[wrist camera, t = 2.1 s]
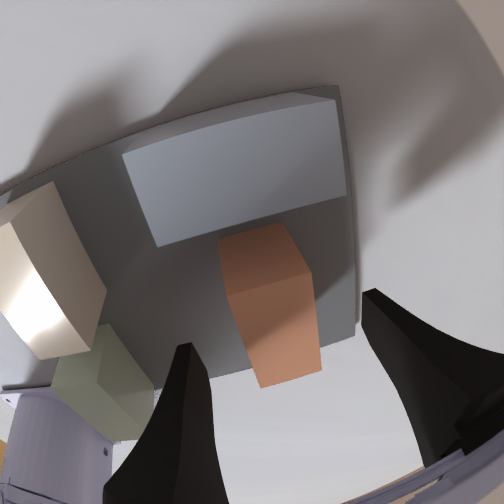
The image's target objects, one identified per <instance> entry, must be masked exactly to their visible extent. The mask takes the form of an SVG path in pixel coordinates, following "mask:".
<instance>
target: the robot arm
mask: <svg viewBox="0 0 504 504" xmlns="http://www.w3.org/2000/svg"><path fill="white" fill-rule="evenodd" d="M361 326H362V328H363V331H364V333H365V335H366V337H367V339H368V342H369V344H370V346H371V347H372V349H373V351H374V352H375V354H376V356H377V357H378V359H379V361H380V362H381V364H382V366H383V367H384V369H385V370H386V372H387V374H388V375H389V377H390V379H391V380H392V382H393V384H394V386H395V388H396V389H397V391H398V394H399V396H400V398H401V400H402V403H403V405H404V407H405V410H406V412H407V415H408V418H409V420H410V423H411V425H412V428H413V431H414V434H415V437H416V440H417V443H418V446H419V450H420V453H421V457H422V461H423V465H424V466H425V469H423V470H421V471H420V472H417V473H416V474H413V475H412V476H409V477H407V478H405V479H403V480H401V481H399V482H397V483H395V484H392V485H390V486H388V487H385V488H383V489H381V490H378V491H376V492H373V493H371V494H368V495H366V496H363V497H360V498H358V499H355V500H352V501H349V502H347V503H344V504H388V503H390V502H392V501H394V500H397V499H399V498H401V497H403V496H405V495H408V494H410V493H412V492H414V491H416V490H418V489H420V488H422V487H424V486H426V485H427V484H429V483H431V482H433V481H435V480H437V479H438V478H439V479H438V481H437V482H436V483H435V484H433V485H431V486H430V487H428V488H426V489H425V490H423V491H421V492H419V493H418V494H416V495H415V496H414V497H413V498H411V499H410V500H408V501H407V502H405V504H476V503H478V502H479V501H480V500H482V499H483V498H484V497H486V496H487V495H488V494H490V493H491V492H492V491H493V490H495V489H496V488H497V487H499V486H500V485H501V484H502V483H503V482H504V354H501V353H497V352H493V351H489V350H486V349H482V348H479V347H476V346H473V345H471V344H468V343H466V342H463V341H461V340H458V339H456V338H454V337H452V336H450V335H448V334H446V333H444V332H441V331H440V330H438V329H436V328H434V327H432V326H431V325H429V324H427V323H426V322H424V321H422V320H421V319H419V318H418V317H416V316H415V315H413V314H412V313H410V312H409V311H407V310H406V309H404V308H403V307H401V306H400V305H398V304H397V303H396V302H394V301H393V300H391V299H390V298H389V297H387V296H386V295H384V294H383V293H382V292H380V291H379V290H377V289H376V288H374V289H371V290H368V291H365V292H362V320H361ZM50 387H51V386H50ZM50 387H40V388H30V389H19V390H6V391H1V392H0V396H1V397H2V398H3V399H4V400H5V401H6V402H7V403H8V404H9V405H10V406H11V407H12V408H14V409H15V413H14V417H13V421H12V425H11V429H10V433H9V437H8V442H7V446H6V451H5V456H4V461H3V466H2V472H1V478H0V504H229V502H228V498H227V494H226V491H225V487H224V483H223V479H222V475H221V470H220V466H219V461H218V456H217V451H216V446H215V438H214V424H213V409H212V394H211V387H210V382H209V376H208V371H207V369H206V367H205V365H204V364H203V362H202V360H201V358H200V356H199V354H198V353H197V351H196V349H195V347H194V345H193V343H192V342H189V343H185V344H181V345H178V346H177V347H176V350H175V354H174V357H173V360H172V364H171V367H170V370H169V373H168V376H167V379H166V381H165V384H164V387H163V390H162V392H161V395H160V397H159V400H158V402H157V405H156V407H155V409H154V411H153V414H152V416H151V418H150V420H149V422H148V424H147V426H146V428H145V429H144V431H143V433H142V435H141V436H140V438H139V440H138V442H137V443H136V445H135V446H134V448H133V449H132V451H131V452H130V454H129V455H128V456H127V458H126V459H125V461H124V462H123V463H122V465H121V466H120V467H119V469H118V470H117V471H116V472H115V473H114V474H113V476H112V454H113V445H117V444H121V441H113V442H111V441H110V440H108V439H107V438H106V437H105V436H103V435H102V434H101V433H100V432H98V431H97V430H96V429H95V428H93V427H92V426H91V425H90V424H89V423H87V422H86V421H85V420H84V419H83V418H82V417H80V416H79V415H78V414H77V413H76V412H75V411H74V410H73V409H71V408H70V407H69V406H68V405H67V404H66V403H65V402H64V401H63V400H62V399H61V398H60V397H59V396H58V395H57V394H56V393H55V392H54V391H52V390H51V389H50Z"/></svg>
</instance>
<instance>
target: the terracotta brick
mask: <svg viewBox="0 0 504 504" xmlns="http://www.w3.org/2000/svg"><path fill="white" fill-rule="evenodd" d="M217 244H218V250H219V256H220V262H221V268H222V274H223V279H224V285H225V291H226V296H227V299H228V302H229V305H230V308H231V310H232V313H233V316H234V319H235V321H236V324H237V327H238V330H239V332H240V335H241V338H242V341H243V343H244V346H245V349H246V351H247V354H248V357H249V359H250V362H251V365H252V367H253V370H254V372H255V375H256V378H257V380H258V383H259V385H260V388H264V387H268V386H271V385H275V384H279V383H282V382H285V381H289V380H292V379H295V378H299V377H302V376H305V375H308V374H311V373H315V372H318V371H321V370H322V367H321V356H320V346H319V335H318V326H317V316H316V307H315V299H314V290H313V282H312V274H311V271H310V269H309V267H308V265H307V264H306V262H305V260H304V258H303V257H302V255H301V253H300V251H299V250H298V248H297V246H296V245H295V243H294V241H293V239H292V238H291V236H290V234H289V233H288V231H287V229H286V228H285V226H284V224H283V223H282V222H278V223H274V224H271V225H267V226H263V227H260V228H256V229H253V230H249V231H245V232H242V233H238V234H235V235H231V236H228V237H224V238H221V239H217Z"/></svg>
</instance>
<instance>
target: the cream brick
mask: <svg viewBox="0 0 504 504" xmlns="http://www.w3.org/2000/svg"><path fill="white" fill-rule="evenodd" d="M106 293H107V289H106V287H105V286H104V284H103V282H102V280H101V279H100V277H99V275H98V273H97V271H96V269H95V268H94V266H93V264H92V262H91V260H90V258H89V256H88V254H87V252H86V251H85V249H84V247H83V245H82V243H81V241H80V239H79V237H78V235H77V233H76V231H75V228H74V226H73V224H72V222H71V220H70V218H69V216H68V214H67V211H66V209H65V207H64V205H63V203H62V200H61V198H60V196H59V193H58V191H57V189H56V186H55V184H54V182H53V181H52V182H50V183H47V184H45V185H43V186H41V187H39V188H37V189H35V190H33V191H31V192H29V193H27V194H25V195H23V196H21V197H19V198H18V199H16V200H14V201H12V202H10V203H8V204H6V205H5V206H4V207H3V208H2V209H1V210H0V310H1V312H2V313H3V314H4V316H5V317H6V318H7V320H8V321H9V322H10V324H11V325H12V326H13V328H14V329H15V330H16V332H17V333H18V334H19V336H20V337H21V338H22V339H23V341H24V342H25V343H26V344H27V345H28V347H29V348H30V349H31V350H32V351H33V353H34V354H35V355H36V356H37V357H38V358H39V360H44V359H50V358H55V357H61V356H66V355H71V354H77V353H82V352H87V351H91V349H92V345H93V341H94V337H95V333H96V329H97V325H98V321H99V318H100V314H101V310H102V307H103V303H104V300H105V297H106Z"/></svg>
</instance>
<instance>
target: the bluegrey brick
mask: <svg viewBox="0 0 504 504" xmlns="http://www.w3.org/2000/svg"><path fill="white" fill-rule="evenodd" d="M122 157H123V160H124V162H125V165H126V168H127V171H128V174H129V176H130V179H131V182H132V184H133V187H134V190H135V192H136V195H137V198H138V200H139V203H140V205H141V208H142V210H143V213H144V215H145V218H146V220H147V223H148V225H149V228H150V230H151V233H152V235H153V238H154V240H155V242H156V245H157V247H160V246H164V245H167V244H170V243H174V242H177V241H180V240H184V239H187V238H191V237H194V236H198V235H201V234H204V233H208V232H211V231H215V230H218V229H222V228H225V227H229V226H233V225H236V224H240V223H243V222H247V221H250V220H254V219H258V218H261V217H265V216H269V215H272V214H276V213H280V212H284V211H287V210H291V209H295V208H299V207H302V206H306V205H310V204H314V203H318V202H321V201H325V200H329V199H333V198H337V197H341V196H345V195H347V193H346V182H345V172H344V162H343V153H342V145H341V137H340V129H339V122H338V115H337V108H336V102H335V100H333V99H328V98H323V97H317V96H312V95H306V94H300V93H294V92H292V93H287V94H281V95H276V96H271V97H266V98H261V99H256V100H252V101H247V102H243V103H239V104H234V105H230V106H226V107H222V108H218V109H215V110H211V111H207V112H203V113H200V114H196V115H193V116H189V117H186V118H183V119H179V120H176V121H173V122H170V123H167V124H164V125H160V126H157V127H154V128H151V129H149V130H146V131H143V132H142V133H141V134H140V135H139V136H138V138H137V139H136V140H135V141H134V142H133V143H132V144H131V145H130V146H129V147H128V148H127V149H126V150H125V152H124V153H123V154H122Z"/></svg>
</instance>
